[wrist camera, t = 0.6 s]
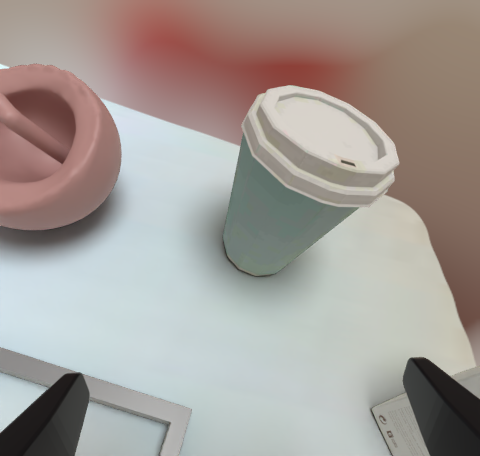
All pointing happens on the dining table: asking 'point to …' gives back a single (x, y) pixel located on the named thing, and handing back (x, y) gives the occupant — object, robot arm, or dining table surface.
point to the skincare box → (413, 418)
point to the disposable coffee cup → (301, 175)
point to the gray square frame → (106, 396)
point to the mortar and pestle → (53, 148)
